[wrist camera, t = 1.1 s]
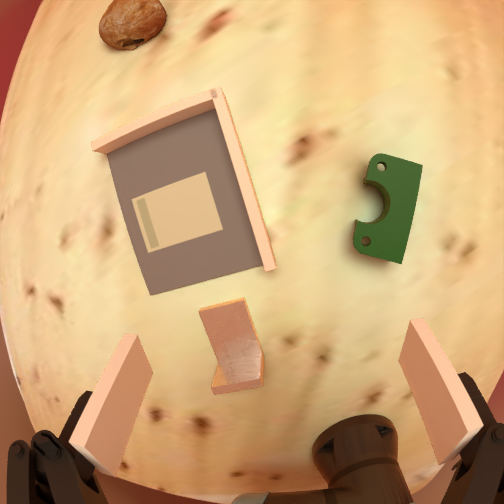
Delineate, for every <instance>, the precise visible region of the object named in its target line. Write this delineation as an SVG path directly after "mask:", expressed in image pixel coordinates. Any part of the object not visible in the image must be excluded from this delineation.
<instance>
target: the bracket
mask: <svg viewBox="0 0 504 504" xmlns="http://www.w3.org/2000/svg"><path fill="white" fill-rule="evenodd" d="M199 314H200V317H201V319H202V322H203V324H204V327H205V330H206V332H207V335H208V337H209V340H210V342H211V345H212V347H213V350H214V352H215V355H216V357H217V360H218V362H219V363H218V366H217V370H216V373H215V376H214V379H213V382H212V386H211V388H212V390H213V393H214V395H216V394H222V393H229V392H235V391H240V390H246V389H251V388H256V387H261V386H263V372H264V354H263V351H262V348H261V345H260V342H259V339H258V336H257V333H256V330H255V327H254V324H253V321H252V318H251V315H250V312H249V309H248V306H247V303H246V300H245V297H244V298H240V299H236V300H232V301H228V302H224V303H220V304H216V305H212V306H208V307H204V308H200V310H199Z"/></svg>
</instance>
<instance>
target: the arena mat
mask: <svg viewBox="0 0 504 504" xmlns="http://www.w3.org/2000/svg"><path fill="white" fill-rule="evenodd" d="M107 156H108V161H109V165H110V169H111V173H112V177H113V181H114V185H115V188H116V192H117V196H118V199H119V203H120V206H121V210H122V213H123V217H124V220H125V223H126V226H127V230H128V233H129V236H130V239H131V242H132V245H133V248H134V251H135V254H136V257H137V260H138V263H139V266H140V269H141V271H142V274H143V277H144V280H145V282H146V285H147V288H148V290H149V293H150V295H153V294H157V293H161V292H165V291H168V290H172V289H176V288H180V287H183V286H187V285H191V284H195V283H198V282H202V281H206V280H209V279H213V278H217V277H220V276H224V275H228V274H231V273H235V272H238V271H242V270H246V269H249V268H253V267H256V266H260V265H263V262H262V258H261V255H260V252H259V248H258V245H257V242H256V238H255V235H254V232H253V228H252V225H251V222H250V219H249V215H248V212H247V209H246V205H245V202H244V199H243V196H242V192H241V189H240V186H239V182H238V179H237V176H236V173H235V169H234V166H233V163H232V160H231V156H230V153H229V150H228V147H227V143H226V140H225V137H224V134H223V130H222V127H221V124H220V121H219V118H218V114H217V111H216V109H213V110H210V111H207V112H204V113H202V114H199V115H196V116H193V117H190V118H188V119H185V120H183V121H180V122H177V123H175V124H172V125H170V126H167V127H165V128H162V129H160V130H158V131H155V132H153V133H151V134H148V135H146V136H144V137H141V138H139V139H137V140H135V141H133V142H130V143H128V144H126V145H124V146H122V147H120V148H118V149H116V150H114V151H112V152H110V153H108V154H107Z"/></svg>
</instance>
